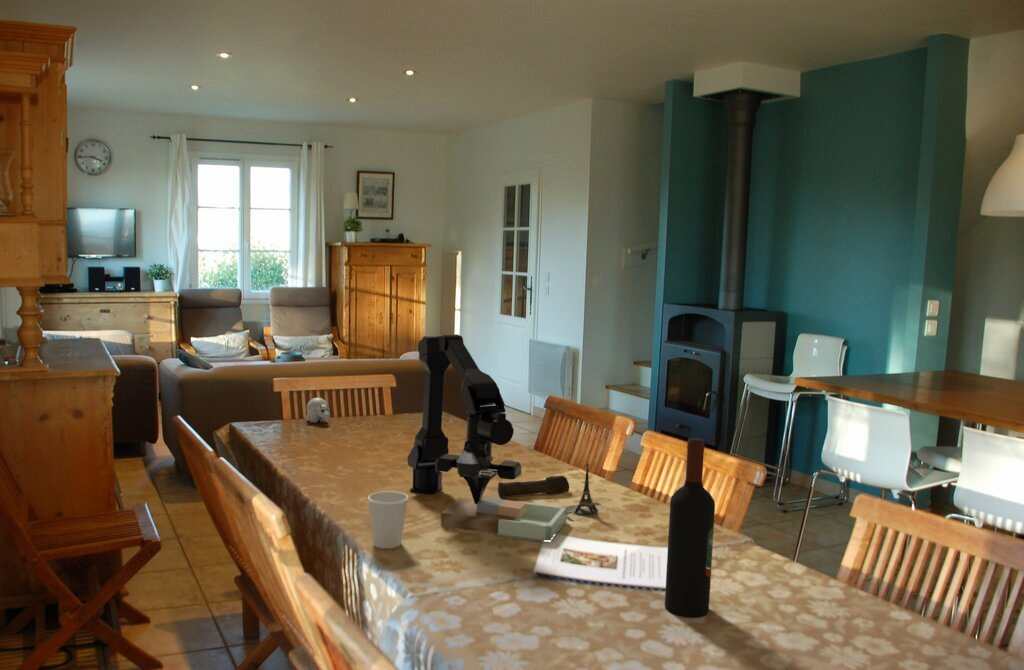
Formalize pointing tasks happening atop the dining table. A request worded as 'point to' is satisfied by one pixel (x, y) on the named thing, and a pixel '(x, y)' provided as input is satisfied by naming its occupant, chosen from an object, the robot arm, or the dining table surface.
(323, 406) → the chubby cartoon animal
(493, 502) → the tile slate
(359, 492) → the dining table surface
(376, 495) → the dixie cup
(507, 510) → the tile terracotta
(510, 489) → the hand tool
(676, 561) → the wine bottle
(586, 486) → the eiffel tower figurine
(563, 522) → the tray
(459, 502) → the plate
